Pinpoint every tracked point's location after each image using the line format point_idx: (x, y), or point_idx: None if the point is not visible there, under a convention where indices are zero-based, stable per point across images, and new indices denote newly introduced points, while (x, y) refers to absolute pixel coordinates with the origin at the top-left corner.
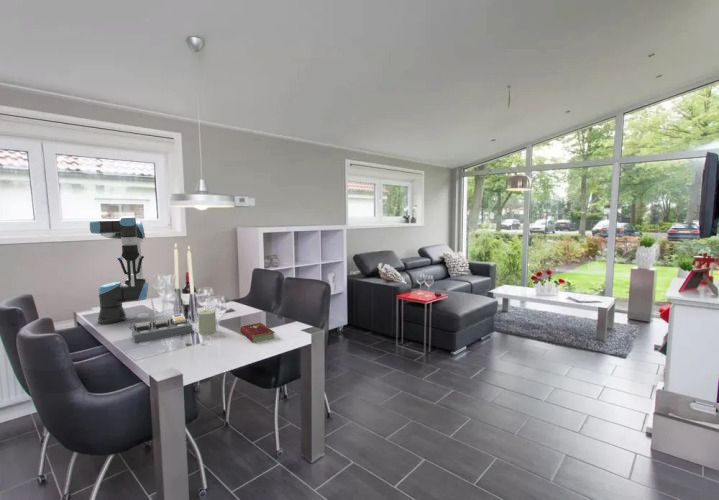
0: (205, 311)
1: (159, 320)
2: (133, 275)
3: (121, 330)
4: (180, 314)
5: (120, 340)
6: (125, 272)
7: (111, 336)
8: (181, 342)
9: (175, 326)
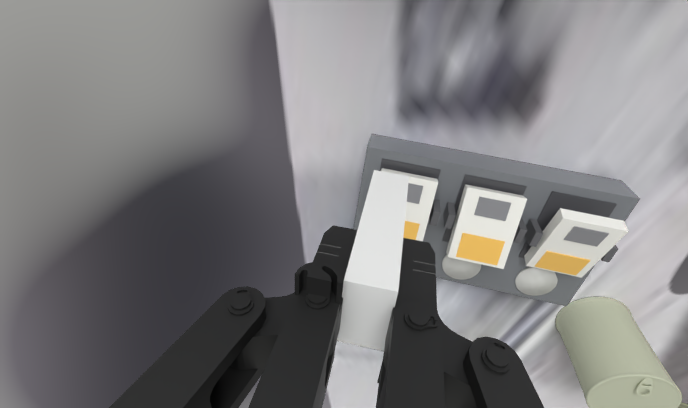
0: (641, 389)
1: (464, 259)
2: (378, 338)
3: (353, 6)
4: (608, 234)
5: (319, 175)
6: (239, 372)
7: (298, 88)
8: (461, 335)
9: (511, 273)
